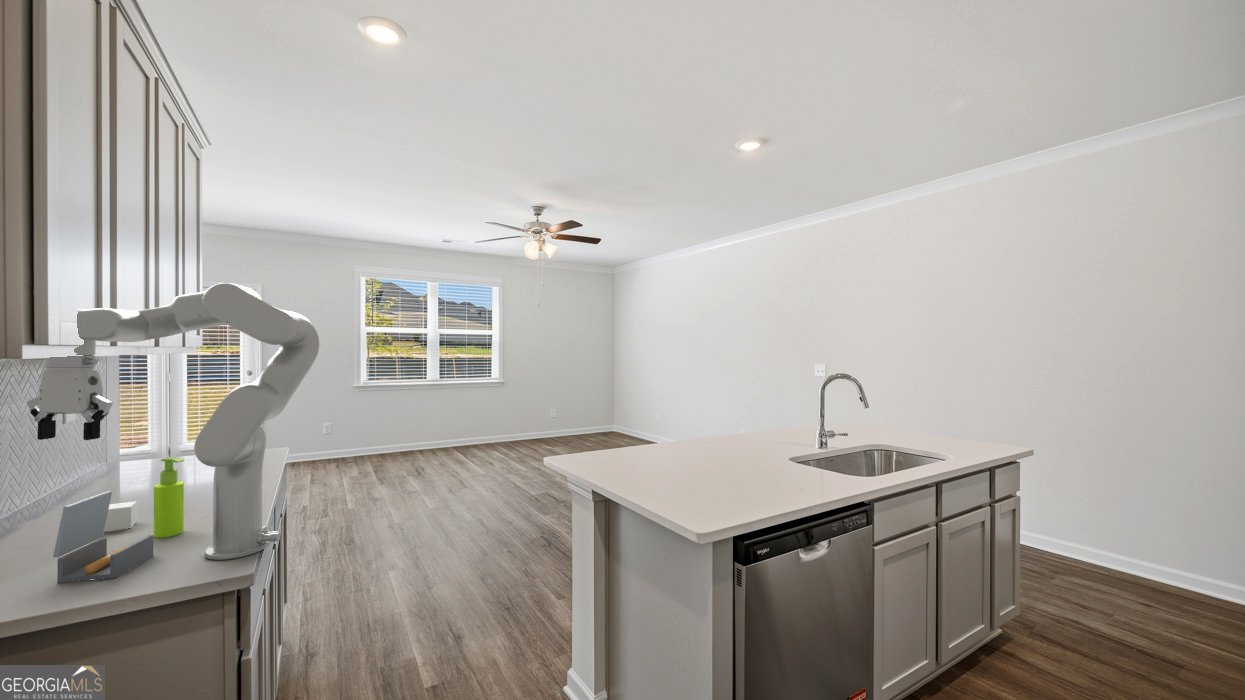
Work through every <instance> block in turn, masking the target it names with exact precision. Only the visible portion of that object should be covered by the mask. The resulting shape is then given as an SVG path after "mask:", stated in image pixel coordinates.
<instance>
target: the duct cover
mask: <svg viewBox="0 0 1245 700" xmlns="http://www.w3.org/2000/svg"><path fill="white" fill-rule="evenodd" d="M112 494H113V491H111V490H106V491H103V492H101V493H98V494H96V495H92V496H90V497H89V496H88V497H87V498H84V499H81V500H77V501H75V502H72V503H70V504H66V505H64V506H63V508H62V514H61V519H60V523H59V526H58V527H59V528H58V532H57V537H56V541H55V546H54V550H53V555H52V558H57V559H59V558H61V556H62V557H63V556H65V555H67V554H70V553H72V552H74V551H76V550H78V549H80V548H82V547H85V546H87V545H89V544H91V543H93V542H95V541H98V540H100V539H102V538H104V537H103V536H104V533H105V532H104V528H105V523H106V519H107V514H108V509H109V504H111V499H112Z"/></svg>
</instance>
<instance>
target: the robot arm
mask: <svg viewBox="0 0 1245 700" xmlns="http://www.w3.org/2000/svg"><path fill="white" fill-rule="evenodd" d="M82 309H83V310H79V311H78V314H77V328H78V334H79V337H80V338H81V339H83V340H84V344H83V345H81V346H79V347H77V348H75V349H74V352H75V353H77V354H76V355H83V356H67V357H50V358H46V357H45V358H46V359H45V369H43V371H42V372H43V373H42V376H41V380H40V385H39V393H38V396H36V397H35V398H32V399H30V400H28V401H26V405H27V407H28V409H29V410H30V415H32V417H33V418H34V421H35V422H36V423H37V440H41V441H43V440H49V439H54V438H55V437H56V435H57V434H56V432H57V430H56V429H57V427H56V426H57V421H56V419H54V418H55V417H56V416H57V415H59V414H60V415H63V414H67V415H68V414H69V415H77V414H80V415H81V416H82V417H83V418H84V419H85V422H83V432H82V433H83V434H82V435H83V437H82V438H83V440H84V441H91V440H96V439H98V440H99V439H100V438H101V421H102V422H103V421H104V420H105V417H107V415H109V412H110V410H111V408H112V407H113V404H114V403H113V401H110V400H109V399H106V398H105V397H104V391H103V382H102V378H101V377H102V376H101V373H100V370H99V369H96V365H97V364H98V363H99V360H98V359H97V358H96V342H106V343H107V342H111V343H115V342H116V343H117V342H119V343H121V342H122V343H136V342H144V341H149V340H150V341H151V340H156V339H162V338H167V337H171V336H175V335H181V334H185V333H189V332H192V331H197V330H203V329H207V328H209V329H210V328H215V327H219V326H225V325H227V326H229V327H231V328H233V329H235V330H237V331H239V332H241V333H243V334H245V335H247V336H249V337H251V338H253V339H255V340H257V341H259V342H261V343H264V344H266V345H270V346H279V348H278V350H277V351H276V352H275V354H273V356H272V357H271V358H270V359H269V361H268V362H267V363H266V365H265V367H264V368H263V369H262V370H261V372H260V374H259V375H258V376H257V377H256V378H255V380H253V381H252V382H249V383H245V384H241V385H239V386H236V387H235V388H233V389H232V390H231V391H230V392H228V394H227V395H226V396H225V397H224V398H223V399H222V401H220V403H219V405H218V406H217V408H215V410H214V412H213V413H212V414H211V416H210V418H209V419H208V421H207V422H206V423H205V425H204V426H203V427H202V429H201V430H200V432H199V433H198V435H197V437H196V439H195V440H194V447H193V448H194V449H193V451H194V454H195V457H196V459H197V460H198V461H199V462H200V463H201V464H203V465H205V466H208V467H211V468H213V467H214V473H213V485H212V486H213V487H212V488H213V490H212V497H213V498H212V504H213V505H212V508H213V511H212V517H213V519H212V530H213V531H212V545H210V546H208V547H206V548H205V550H204V557H205V558H206V559H208V560H214V561H215V560H217V561H219V560H232V559H237V558H238V559H239V558H241V557H242V558H243V557H246V556H250V555H253V554H257V553H259V552H261V551H263V550H265V549H266V548H268V547H269V546H270V543H271V542H279V541H280V540H281V533H280V531H279V530H273V531H269V530H268V526H267V525H263V479H264V478H263V475H264V474H263V473H264V472H263V471H264V470H263V469H264V460H265V459H264V458H265V453H266V452H265V451H266V446H267V445H266V444H267V443H266V442H267V441H266V439H267V438H266V432H265V430H264V428H263V426H262V425H263V424H264V423H265V422H266V421H269V420H271V419H274V418H276V417H278V416H279V415H281V413H282V412H283V411H284V409H286V406H287V404H288V403H289V401H290V400H291V398H292V396H293V395H294V394H295V392H296V391H297V389H298V388H299V386H300V385H301V384H302V381H303V380H304V378H306V375H307V374H308V372H309V371H310V369H311V368H312V366H313V365H314V364H315V361H316V359H317V357H318V354H319V350H320V338H319V334H318V332H317V330H316V328H315V326H314V325H313V323H312V322H311V321H310V320H309V319H308V318H307V317H306V316H304V315H302V314H300V313H297V312H294V311H290V310H285V309H279V308H278V307H276V306H274V305H272V304H270V303H268V302H266V301H264V300H262V297H261V296H260V295H259V293H258V292H256V291H255V290H254V289H252V288H250V287H246V286H243V285H241V284H240V285H239V284H236V283H233V282H232V283H231V282H220V283H216V284H213V285H212V286H210V287H208V288H207V289H206V290H205V291H202V292H201V291H200V292H195V293H189V294H181V295H178V296H175V297H174V298H173V300H172V302H171V303H169V304H167V305H164V306H158V307H152V308H144V309H140V310H127V309H117V308H109V307H107V308H106V307H104V308H102V307H100V308H99V307H98V308H88V309H85V308H82Z"/></svg>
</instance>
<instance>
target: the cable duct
mask: <svg viewBox="0 0 1245 700" xmlns="http://www.w3.org/2000/svg"><path fill="white" fill-rule="evenodd" d="M107 544H108V540H107V537H101V538H99V539H97V540H95V541H93V542H90V543H88V544H86V545H84V546H82V547H80V548H77V549H75V550H73V551H71V552H69V553H66V554H64V555H62V557H61V556H60V557H58V558H57V579H56V580H57V584H62V583H61V582H65V583H71V582H70V581H77V582H80V581H79V580H90V579H102V580H106V579H105V578H115V577H117V576H118V577H120V576H122V575H123V574H125V573H127V572H129V571H130V570H132V569H134V568H136V567H137V566H139V565H141V564H143V563H144V562H146V561H148V560H149V559H151V558H153V557H154V534H151V535H150V534H148V536H145V537H143V538H142V539H139V540H137V541H135V542H133V543H131V544H130V545H127V546H122V547H121V548H118V549H117V550H115V551H113V552H111V553H109V554H108V552H107V550H108V549H107V547H108V545H107ZM152 556H153V557H152ZM150 557H151V558H150ZM147 559H148V560H147ZM145 560H146V561H145ZM140 563H141V564H140ZM138 564H139V565H138ZM136 565H137V566H136ZM135 566H136V567H135ZM133 567H134V568H133ZM131 568H132V569H131ZM129 569H130V570H129ZM128 570H129V571H128ZM126 571H127V572H126ZM124 572H125V573H124ZM121 574H122V575H121ZM119 575H120V576H119ZM118 577H117V578H118ZM103 578H104V579H103ZM115 579H116V578H115ZM90 581H91V580H90Z"/></svg>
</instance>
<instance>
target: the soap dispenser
mask: <svg viewBox="0 0 1245 700" xmlns="http://www.w3.org/2000/svg"><path fill="white" fill-rule="evenodd" d="M184 461H185V459H183V458H181V457H167V458H161V459H160V462H164V469H163V470H162V471H160V477H159V478H160V483H157V484H155V485H154V486H153V538H155V537H156V539H163V537H164V538H169V537H174V536H177V535H180V534H182V533H184V522H185V521H184V513H185V512H184V511H185V510H184V505H185V504H184V500H185V499H184V498H185V497H184V496H185V495H184V491H185V490H184V489H185V488H184V487H185V485H184V483H185V482H184V481H179V480H178V469H175V468H174V463H175V464H176V463H177V464H178V463H182V462H184Z"/></svg>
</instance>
